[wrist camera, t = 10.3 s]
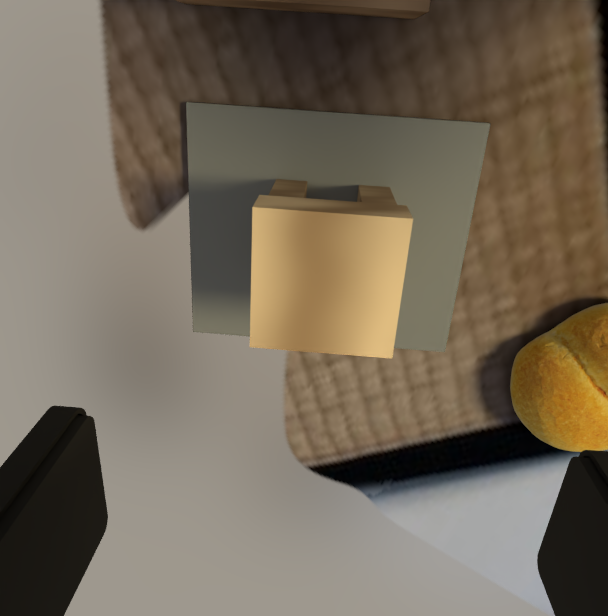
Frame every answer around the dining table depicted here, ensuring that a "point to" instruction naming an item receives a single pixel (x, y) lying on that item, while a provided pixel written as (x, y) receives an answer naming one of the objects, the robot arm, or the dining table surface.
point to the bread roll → (566, 382)
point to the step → (331, 6)
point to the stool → (327, 271)
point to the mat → (329, 186)
